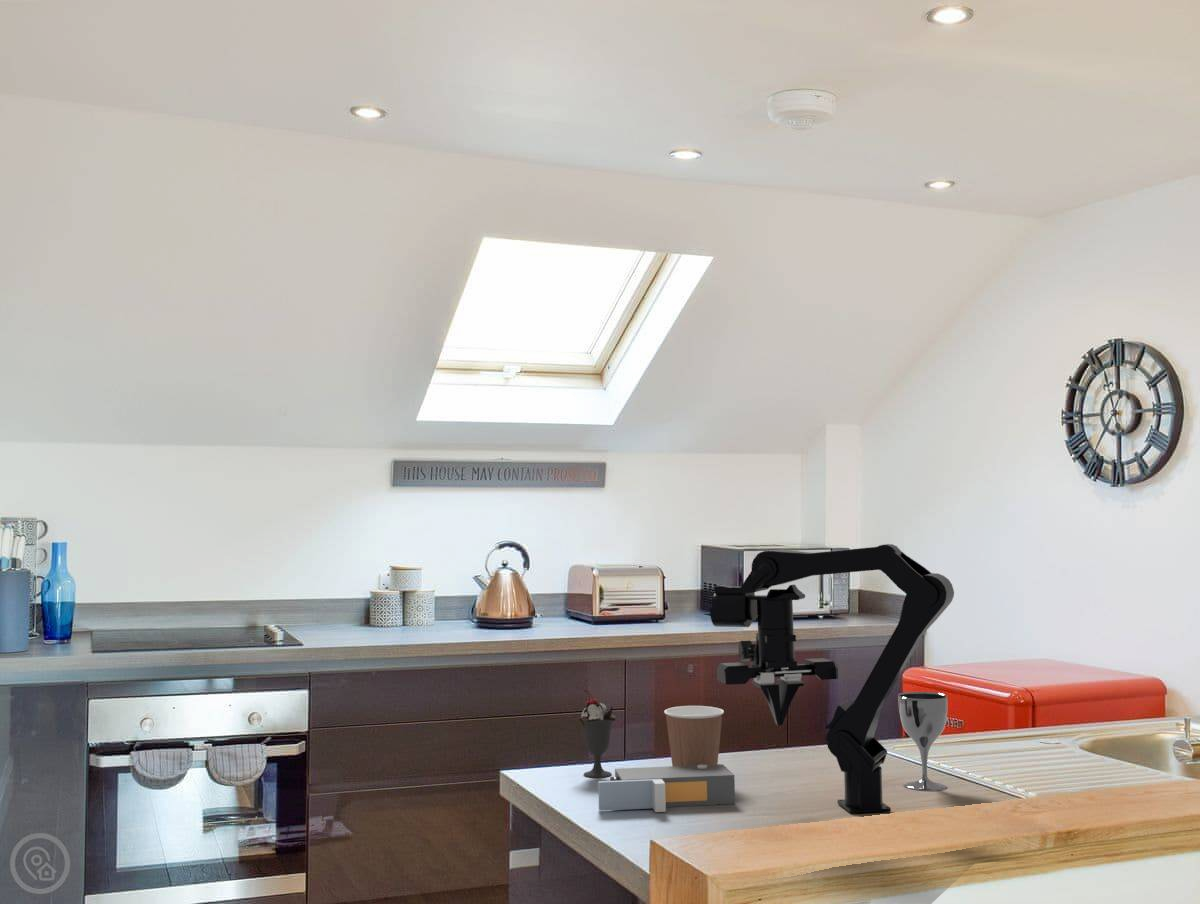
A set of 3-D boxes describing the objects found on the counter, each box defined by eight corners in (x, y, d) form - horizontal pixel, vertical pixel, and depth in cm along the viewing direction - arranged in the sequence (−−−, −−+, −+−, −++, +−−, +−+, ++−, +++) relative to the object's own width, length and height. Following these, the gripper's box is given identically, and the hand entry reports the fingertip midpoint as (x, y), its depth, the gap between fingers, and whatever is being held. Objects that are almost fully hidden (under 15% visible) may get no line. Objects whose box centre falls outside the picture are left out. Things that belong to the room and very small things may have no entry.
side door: (665, 811, 178) (665, 783, 179) (601, 814, 177) (600, 786, 177) (662, 806, 181) (661, 778, 182) (598, 809, 180) (598, 781, 180)
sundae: (573, 772, 207) (572, 688, 207) (608, 769, 209) (607, 685, 210) (585, 780, 200) (584, 693, 201) (621, 777, 203) (620, 690, 204)
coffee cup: (735, 778, 201) (734, 708, 201) (707, 790, 192) (706, 717, 193) (683, 771, 206) (682, 703, 207) (654, 783, 198) (652, 712, 198)
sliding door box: (735, 803, 183) (734, 771, 184) (614, 809, 181) (614, 777, 181) (723, 791, 191) (722, 761, 192) (608, 796, 189) (607, 765, 189)
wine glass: (940, 779, 198) (938, 691, 198) (956, 791, 190) (954, 698, 190) (894, 780, 197) (892, 692, 198) (908, 792, 189) (906, 699, 190)
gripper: (813, 621, 197) (817, 714, 196) (707, 626, 194) (710, 720, 193) (837, 626, 186) (841, 725, 185) (724, 632, 183) (728, 732, 182)
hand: (779, 725), depth 186 cm, fingers closed
